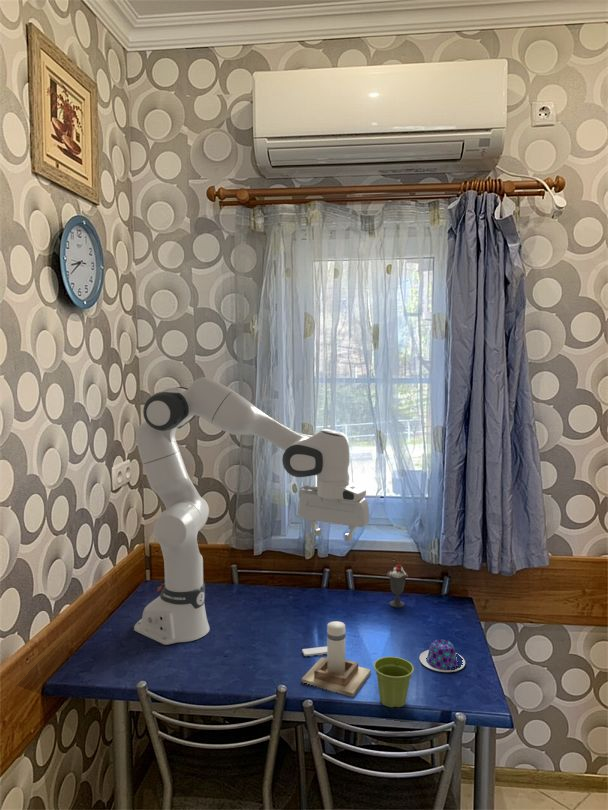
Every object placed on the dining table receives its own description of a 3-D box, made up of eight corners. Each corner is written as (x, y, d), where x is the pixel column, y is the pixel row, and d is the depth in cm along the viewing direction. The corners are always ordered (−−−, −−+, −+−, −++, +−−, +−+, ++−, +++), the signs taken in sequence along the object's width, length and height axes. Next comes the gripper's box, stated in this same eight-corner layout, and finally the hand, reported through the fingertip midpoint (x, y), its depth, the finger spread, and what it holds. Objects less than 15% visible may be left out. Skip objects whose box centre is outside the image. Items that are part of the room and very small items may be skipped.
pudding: (429, 676, 159) (430, 657, 158) (412, 653, 171) (413, 635, 170) (473, 672, 161) (473, 653, 161) (453, 649, 173) (453, 631, 172)
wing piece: (304, 658, 168) (304, 654, 168) (302, 653, 171) (302, 649, 171) (340, 654, 170) (340, 650, 170) (336, 649, 173) (337, 645, 173)
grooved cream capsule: (324, 676, 157) (324, 627, 155) (331, 667, 161) (331, 619, 159) (341, 680, 155) (341, 631, 153) (348, 671, 159) (348, 623, 157)
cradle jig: (301, 682, 156) (301, 671, 155) (321, 660, 166) (321, 649, 166) (353, 697, 149) (353, 685, 149) (370, 673, 160) (370, 662, 160)
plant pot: (386, 685, 154) (387, 652, 154) (420, 699, 149) (420, 665, 148) (365, 702, 147) (365, 667, 146) (399, 717, 141) (400, 681, 140)
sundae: (397, 610, 197) (398, 565, 195) (382, 603, 202) (383, 559, 200) (411, 605, 201) (412, 560, 199) (396, 598, 206) (397, 554, 204)
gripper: (294, 487, 172) (293, 535, 173) (363, 495, 162) (362, 546, 164) (304, 482, 177) (304, 529, 179) (371, 490, 168) (370, 540, 170)
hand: (332, 537), depth 171 cm, fingers open, 8 cm apart
